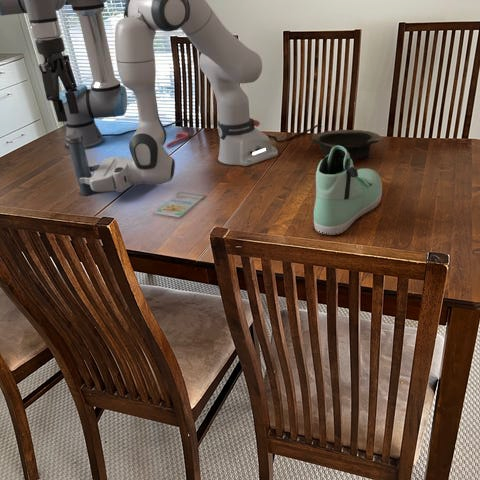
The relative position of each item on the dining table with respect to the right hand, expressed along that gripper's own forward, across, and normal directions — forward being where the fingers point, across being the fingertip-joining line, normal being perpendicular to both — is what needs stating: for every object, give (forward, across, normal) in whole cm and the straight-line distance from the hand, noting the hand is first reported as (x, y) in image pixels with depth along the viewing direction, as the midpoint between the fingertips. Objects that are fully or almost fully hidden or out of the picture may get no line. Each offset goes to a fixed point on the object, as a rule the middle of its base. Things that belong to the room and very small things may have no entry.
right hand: (84, 174), depth 158 cm
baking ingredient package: (-32, +14, +7) cm, 36 cm away
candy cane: (-24, -45, +6) cm, 51 cm away
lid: (0, 0, -13) cm, 13 cm away
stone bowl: (-89, -19, +6) cm, 91 cm away
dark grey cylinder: (0, 0, +7) cm, 7 cm away
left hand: (0, 0, -19) cm, 19 cm away
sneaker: (-83, +21, +6) cm, 86 cm away
